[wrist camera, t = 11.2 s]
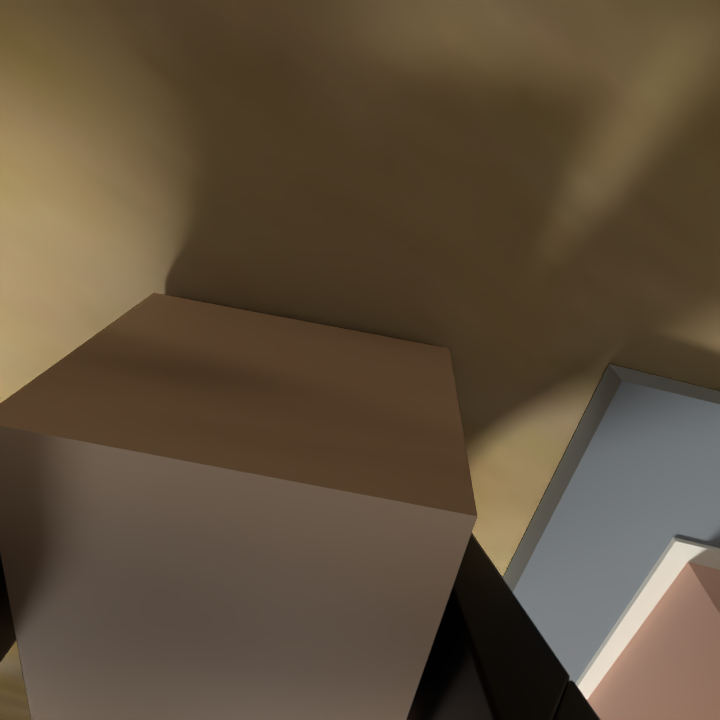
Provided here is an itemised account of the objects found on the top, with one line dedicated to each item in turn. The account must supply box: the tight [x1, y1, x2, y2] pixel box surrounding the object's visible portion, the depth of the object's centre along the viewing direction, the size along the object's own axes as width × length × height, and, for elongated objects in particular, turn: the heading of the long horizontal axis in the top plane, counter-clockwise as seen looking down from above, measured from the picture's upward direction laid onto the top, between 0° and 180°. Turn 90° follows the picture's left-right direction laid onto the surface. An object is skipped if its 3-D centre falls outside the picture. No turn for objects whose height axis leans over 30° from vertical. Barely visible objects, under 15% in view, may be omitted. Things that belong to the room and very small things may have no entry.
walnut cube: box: [0, 293, 477, 720], centre depth 8 cm, size 5×5×4 cm
